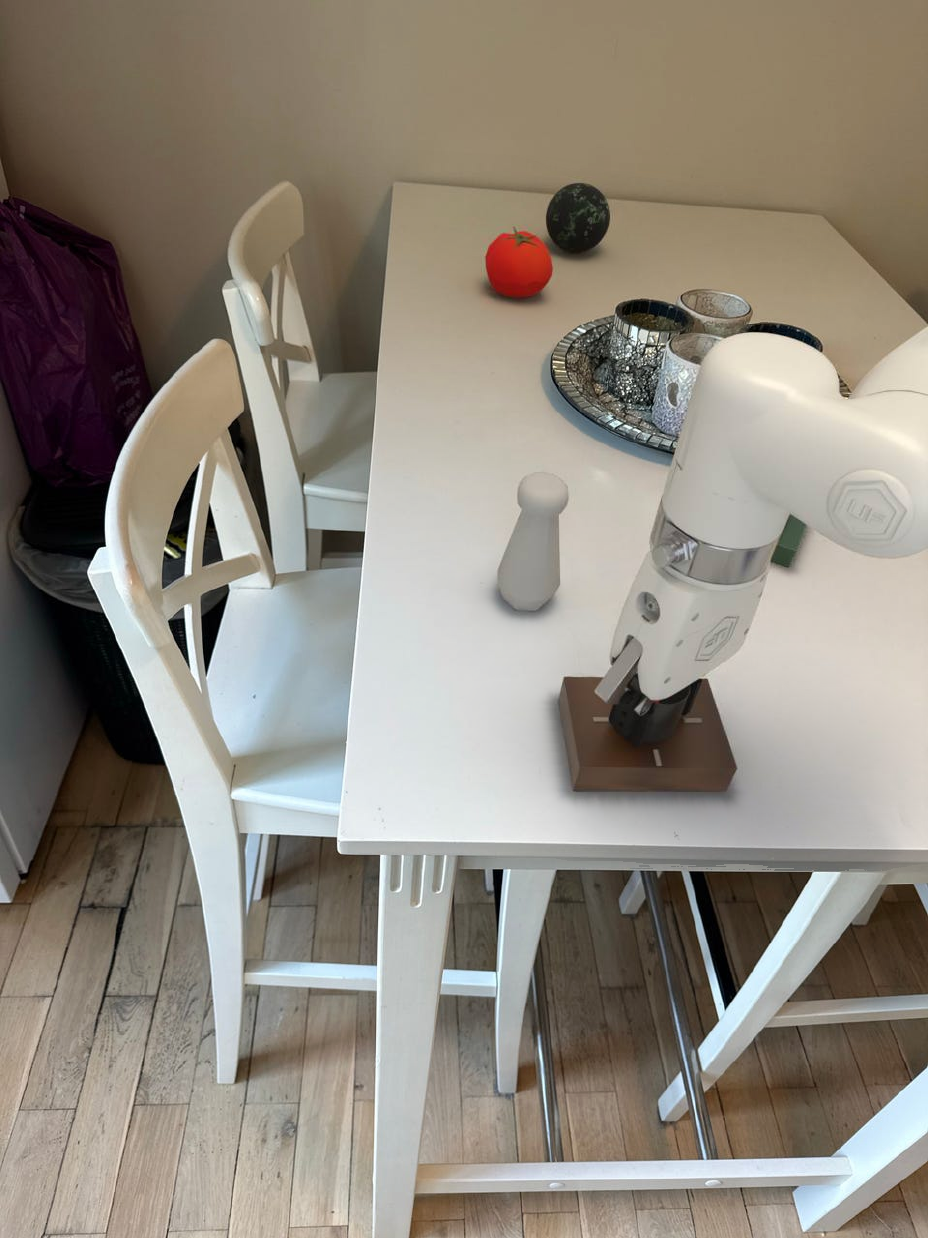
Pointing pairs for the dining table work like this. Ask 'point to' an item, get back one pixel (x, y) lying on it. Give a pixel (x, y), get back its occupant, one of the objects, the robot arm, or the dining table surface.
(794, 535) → the button box
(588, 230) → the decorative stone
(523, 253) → the tomato
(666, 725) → the knob
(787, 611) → the dining table surface
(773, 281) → the dining table surface
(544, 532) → the salt shaker
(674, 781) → the panel
